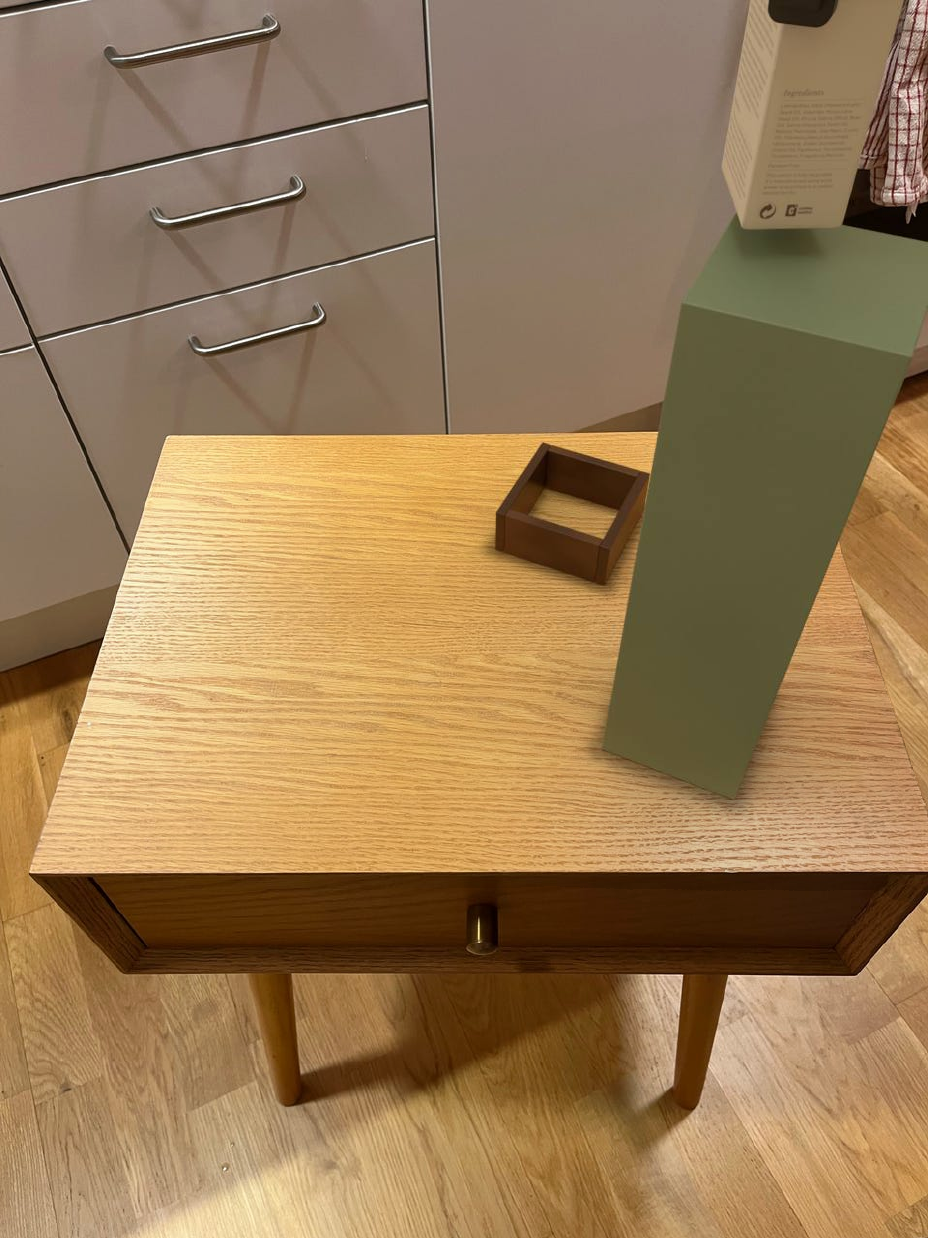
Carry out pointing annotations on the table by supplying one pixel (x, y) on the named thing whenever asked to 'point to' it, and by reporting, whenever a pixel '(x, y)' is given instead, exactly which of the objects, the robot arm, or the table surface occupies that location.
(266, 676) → the table surface
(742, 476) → the pedestal
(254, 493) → the table surface
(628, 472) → the holder
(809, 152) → the cosmetic box
